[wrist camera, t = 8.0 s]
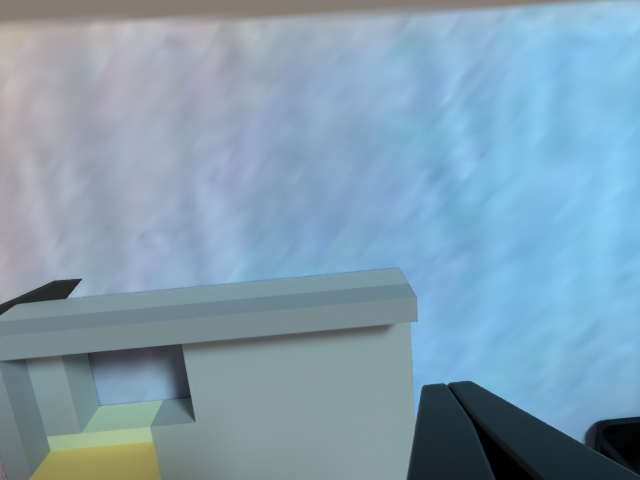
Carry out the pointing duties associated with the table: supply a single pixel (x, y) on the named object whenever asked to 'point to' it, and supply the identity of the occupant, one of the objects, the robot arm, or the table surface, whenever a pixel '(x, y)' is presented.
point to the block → (101, 463)
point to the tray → (224, 378)
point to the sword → (44, 293)
